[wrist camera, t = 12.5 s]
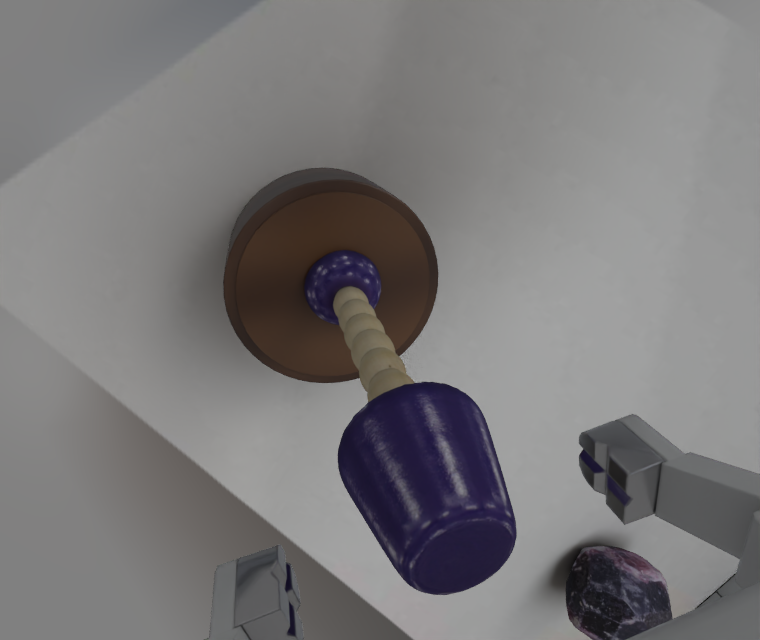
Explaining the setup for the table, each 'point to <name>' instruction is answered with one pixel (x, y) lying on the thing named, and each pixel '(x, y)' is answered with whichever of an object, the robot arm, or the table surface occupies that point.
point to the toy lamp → (413, 448)
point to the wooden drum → (304, 248)
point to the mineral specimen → (615, 594)
